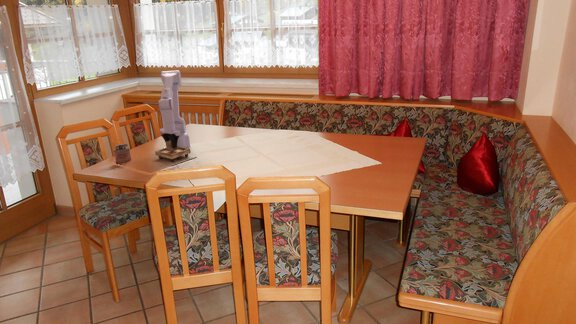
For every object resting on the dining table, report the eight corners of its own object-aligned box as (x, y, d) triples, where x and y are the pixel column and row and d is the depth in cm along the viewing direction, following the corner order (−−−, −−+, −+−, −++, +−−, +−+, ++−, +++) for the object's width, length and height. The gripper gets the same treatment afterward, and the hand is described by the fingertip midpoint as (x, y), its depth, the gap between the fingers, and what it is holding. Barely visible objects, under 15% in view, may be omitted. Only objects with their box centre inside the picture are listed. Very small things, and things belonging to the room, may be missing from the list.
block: (173, 148, 232) (171, 139, 231) (177, 149, 230) (176, 140, 228) (166, 150, 229) (165, 141, 228) (171, 151, 227) (170, 142, 225)
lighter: (115, 164, 229) (112, 146, 225) (116, 162, 232) (112, 144, 229) (131, 162, 231) (128, 144, 227) (132, 160, 234) (129, 142, 231)
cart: (174, 152, 240) (173, 145, 238) (191, 156, 231) (190, 148, 230) (156, 158, 231) (154, 151, 230) (172, 162, 222) (171, 154, 221)
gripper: (153, 122, 226) (157, 147, 231) (170, 125, 218) (174, 151, 222) (164, 119, 232) (168, 144, 236) (182, 122, 223) (185, 147, 227)
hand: (172, 147), depth 229 cm, fingers closed on block, 4 cm apart
